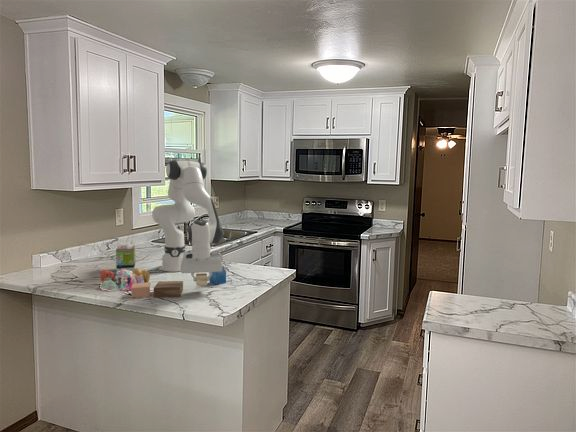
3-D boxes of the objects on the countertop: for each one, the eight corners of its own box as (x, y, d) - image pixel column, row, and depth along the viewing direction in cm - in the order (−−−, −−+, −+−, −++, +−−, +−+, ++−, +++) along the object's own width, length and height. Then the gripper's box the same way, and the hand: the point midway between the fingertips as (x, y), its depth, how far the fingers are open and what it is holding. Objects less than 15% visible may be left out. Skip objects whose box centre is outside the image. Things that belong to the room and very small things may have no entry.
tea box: (134, 273, 256) (133, 248, 254) (116, 274, 253) (115, 249, 252) (136, 267, 270) (135, 243, 269) (118, 268, 268) (117, 244, 266)
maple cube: (196, 282, 222) (196, 273, 222) (206, 282, 224) (206, 272, 223) (196, 285, 218) (196, 275, 217) (207, 285, 219) (207, 275, 218)
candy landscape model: (138, 277, 248) (138, 261, 247) (158, 286, 231) (157, 268, 230) (92, 285, 231) (91, 268, 230) (109, 295, 214) (109, 276, 213)
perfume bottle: (209, 282, 237) (209, 260, 236) (219, 280, 242) (219, 258, 240) (216, 284, 233) (216, 262, 232) (226, 282, 237) (225, 260, 236)
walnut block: (158, 291, 222) (158, 281, 222) (183, 290, 223) (183, 281, 223) (153, 298, 210) (153, 287, 210) (179, 297, 212) (179, 287, 211)
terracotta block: (133, 293, 218) (132, 283, 217) (150, 292, 220) (150, 282, 219) (131, 298, 210) (131, 288, 209) (149, 297, 212) (149, 286, 211)
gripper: (222, 251, 224) (222, 278, 226) (180, 252, 219) (180, 280, 221) (223, 254, 218) (223, 281, 220) (180, 255, 213) (180, 283, 215)
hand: (201, 280), depth 220 cm, fingers closed on maple cube, 5 cm apart
